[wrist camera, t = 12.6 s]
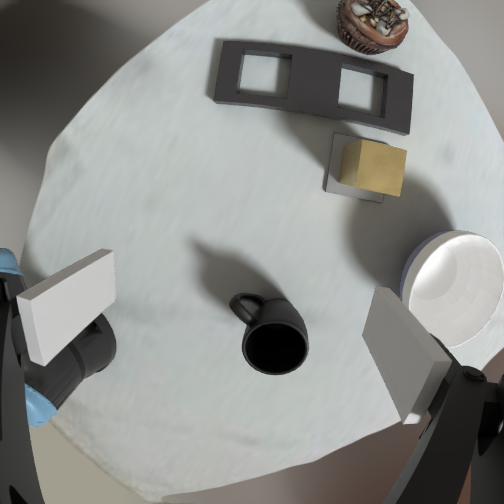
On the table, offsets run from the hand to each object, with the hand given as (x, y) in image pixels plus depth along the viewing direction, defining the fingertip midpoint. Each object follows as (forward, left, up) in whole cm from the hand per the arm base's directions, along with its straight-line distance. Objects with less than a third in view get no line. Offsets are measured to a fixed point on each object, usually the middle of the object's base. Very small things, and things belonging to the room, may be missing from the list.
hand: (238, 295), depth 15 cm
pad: (+11, +8, -28) cm, 31 cm away
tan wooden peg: (+11, +8, -28) cm, 31 cm away
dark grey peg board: (+4, +18, -28) cm, 34 cm away
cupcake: (+10, +29, -29) cm, 42 cm away
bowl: (+26, -5, -28) cm, 39 cm away
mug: (+2, -14, -28) cm, 32 cm away
